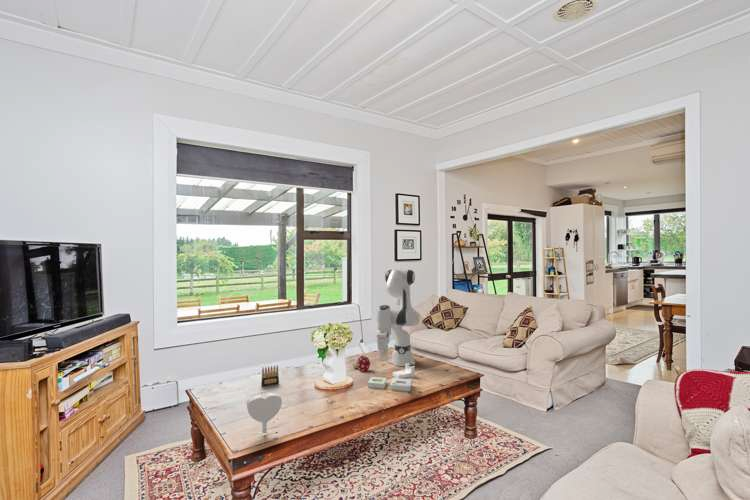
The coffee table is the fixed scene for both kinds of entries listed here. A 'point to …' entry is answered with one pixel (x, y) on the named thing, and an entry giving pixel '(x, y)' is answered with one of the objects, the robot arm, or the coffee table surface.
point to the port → (401, 384)
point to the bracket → (405, 372)
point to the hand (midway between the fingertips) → (383, 353)
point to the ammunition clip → (270, 376)
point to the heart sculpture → (264, 408)
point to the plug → (384, 357)
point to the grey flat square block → (377, 382)
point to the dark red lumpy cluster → (362, 363)
